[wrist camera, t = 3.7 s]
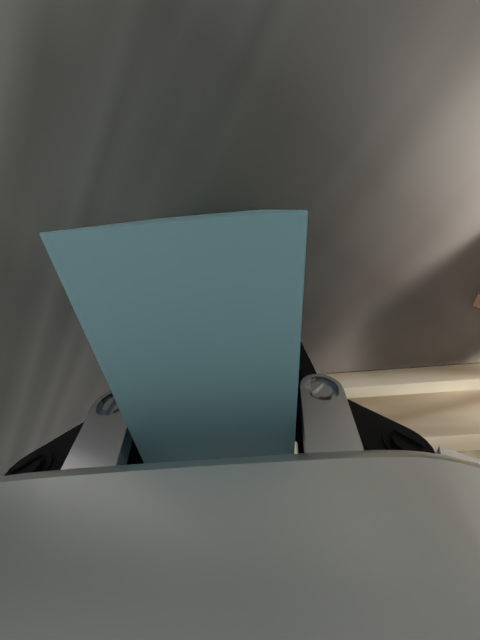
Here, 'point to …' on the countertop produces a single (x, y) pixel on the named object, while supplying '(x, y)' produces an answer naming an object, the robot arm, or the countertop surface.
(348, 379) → the jig
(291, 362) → the light blue block
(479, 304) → the peach brick
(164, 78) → the countertop surface
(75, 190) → the countertop surface
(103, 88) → the countertop surface
